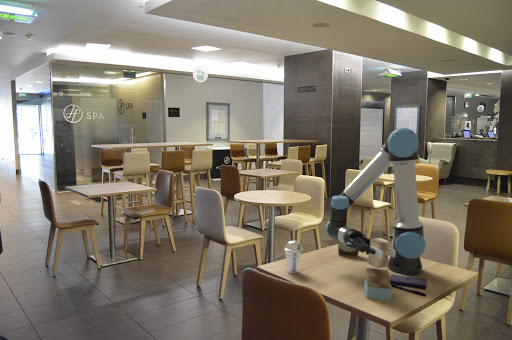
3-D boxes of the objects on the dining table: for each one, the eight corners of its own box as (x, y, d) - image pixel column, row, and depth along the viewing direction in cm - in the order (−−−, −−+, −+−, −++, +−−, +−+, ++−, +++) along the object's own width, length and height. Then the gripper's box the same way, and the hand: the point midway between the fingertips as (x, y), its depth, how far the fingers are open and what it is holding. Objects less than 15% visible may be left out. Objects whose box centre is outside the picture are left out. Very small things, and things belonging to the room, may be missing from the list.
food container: (360, 253, 205) (361, 234, 204) (360, 257, 199) (362, 237, 198) (335, 251, 208) (337, 232, 207) (335, 254, 202) (336, 235, 201)
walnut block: (386, 280, 158) (387, 269, 157) (389, 288, 150) (390, 277, 150) (365, 278, 159) (366, 267, 159) (367, 286, 151) (368, 275, 151)
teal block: (387, 291, 159) (387, 280, 158) (391, 301, 150) (392, 289, 149) (363, 289, 160) (364, 278, 160) (366, 298, 151) (367, 287, 151)
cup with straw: (278, 271, 175) (280, 226, 173) (289, 266, 182) (291, 223, 180) (295, 276, 170) (297, 230, 168) (306, 270, 177) (308, 226, 175)
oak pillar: (378, 262, 157) (380, 237, 156) (387, 266, 153) (389, 241, 152) (368, 263, 155) (370, 238, 154) (376, 268, 151) (378, 242, 150)
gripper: (367, 244, 174) (406, 262, 152) (332, 247, 167) (367, 266, 145) (368, 227, 173) (408, 242, 152) (333, 229, 166) (369, 246, 145)
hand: (388, 254), depth 149 cm, fingers closed on oak pillar, 5 cm apart
